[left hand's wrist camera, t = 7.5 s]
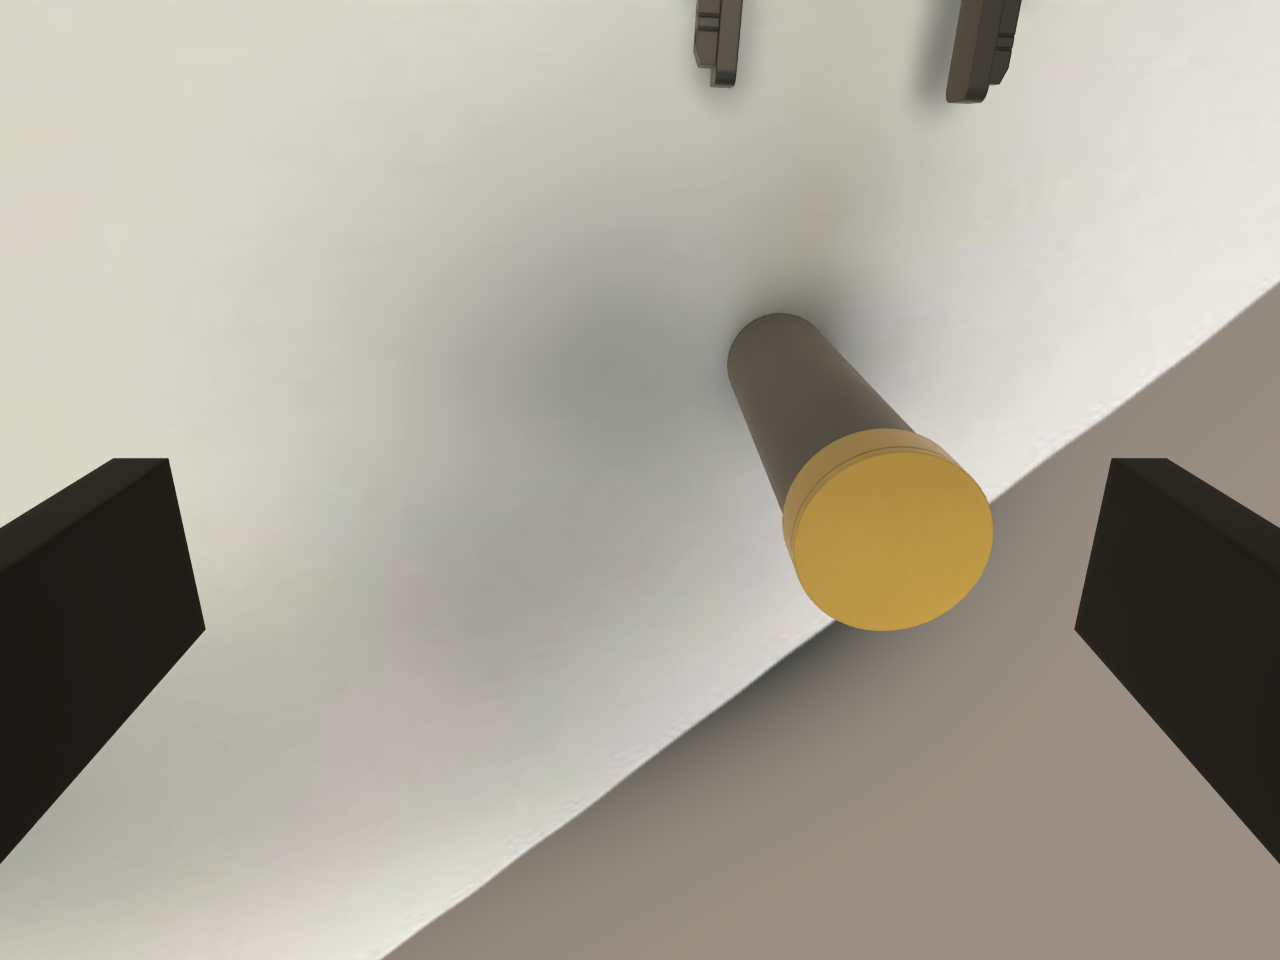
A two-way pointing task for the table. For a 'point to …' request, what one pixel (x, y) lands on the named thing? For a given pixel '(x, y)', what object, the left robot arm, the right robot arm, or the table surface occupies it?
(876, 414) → the grey cylindrical bottle
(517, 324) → the table surface
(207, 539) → the table surface
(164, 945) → the table surface
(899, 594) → the lid
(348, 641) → the table surface
